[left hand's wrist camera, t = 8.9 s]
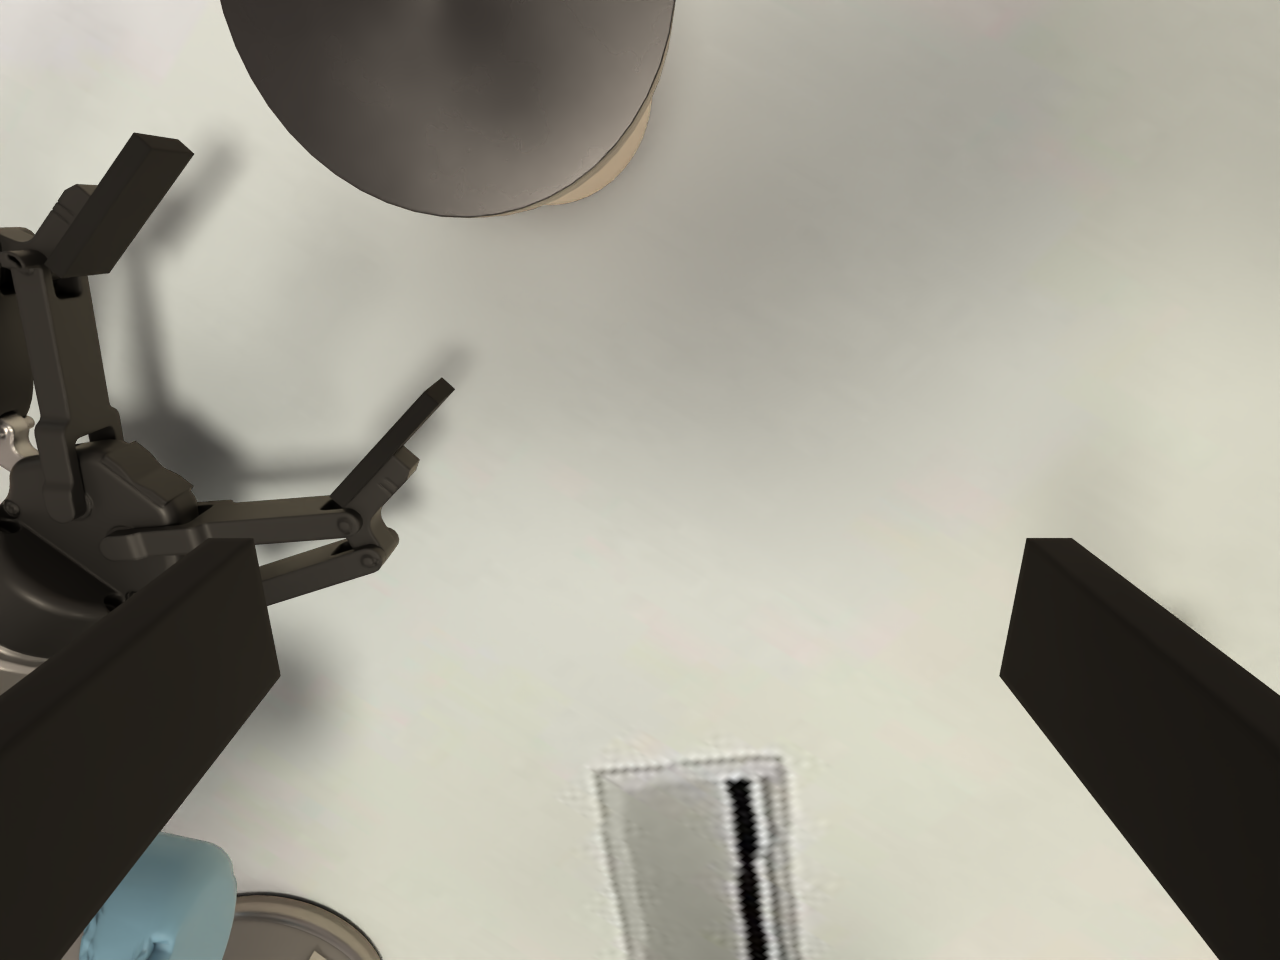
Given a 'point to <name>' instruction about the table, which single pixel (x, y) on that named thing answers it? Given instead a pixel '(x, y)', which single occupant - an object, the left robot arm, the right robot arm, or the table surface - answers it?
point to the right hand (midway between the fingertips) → (311, 272)
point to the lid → (456, 91)
